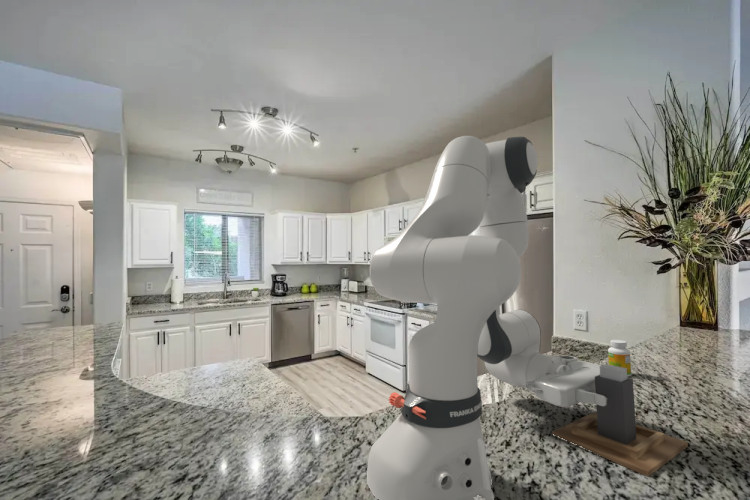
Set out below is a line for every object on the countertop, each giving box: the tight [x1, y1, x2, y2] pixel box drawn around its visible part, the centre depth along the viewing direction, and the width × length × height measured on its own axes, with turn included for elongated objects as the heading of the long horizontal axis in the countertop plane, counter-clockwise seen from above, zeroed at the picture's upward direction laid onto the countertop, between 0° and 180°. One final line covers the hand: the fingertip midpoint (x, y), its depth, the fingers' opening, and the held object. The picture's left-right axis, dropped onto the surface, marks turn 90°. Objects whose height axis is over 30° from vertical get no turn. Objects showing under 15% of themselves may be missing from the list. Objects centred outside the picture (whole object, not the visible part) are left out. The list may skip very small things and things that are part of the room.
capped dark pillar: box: [595, 363, 637, 445], centre depth 67 cm, size 4×5×13 cm
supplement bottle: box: [607, 339, 632, 378], centre depth 104 cm, size 5×5×10 cm
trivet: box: [551, 411, 689, 477], centre depth 66 cm, size 16×16×2 cm
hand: (619, 395), depth 66 cm, fingers open, 8 cm apart
